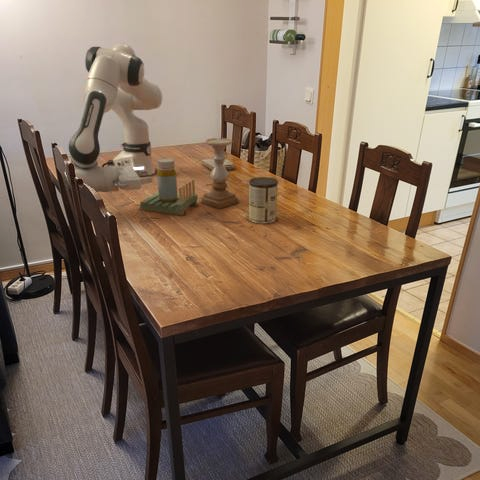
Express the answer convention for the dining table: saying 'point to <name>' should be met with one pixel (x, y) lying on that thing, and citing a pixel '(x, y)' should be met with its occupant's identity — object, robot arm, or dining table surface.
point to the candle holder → (219, 177)
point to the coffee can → (262, 199)
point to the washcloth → (211, 164)
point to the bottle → (167, 180)
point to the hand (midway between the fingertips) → (149, 176)
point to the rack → (170, 207)
